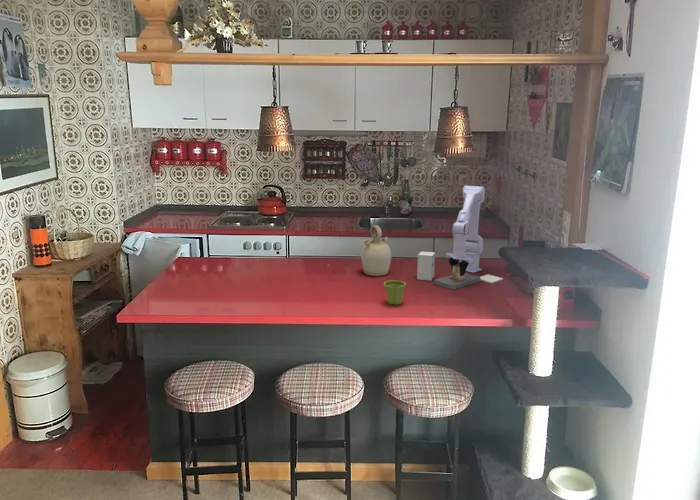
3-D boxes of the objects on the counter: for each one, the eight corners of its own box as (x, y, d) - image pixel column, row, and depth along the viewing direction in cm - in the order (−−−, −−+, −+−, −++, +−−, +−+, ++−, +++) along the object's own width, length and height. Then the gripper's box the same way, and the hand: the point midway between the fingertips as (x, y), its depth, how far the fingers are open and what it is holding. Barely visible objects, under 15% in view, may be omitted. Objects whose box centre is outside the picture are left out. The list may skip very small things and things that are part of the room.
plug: (452, 279, 283) (452, 265, 281) (457, 278, 285) (458, 264, 283) (458, 281, 280) (459, 267, 278) (464, 280, 282) (464, 265, 280)
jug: (365, 278, 291) (365, 228, 285) (357, 269, 306) (357, 222, 299) (395, 275, 294) (395, 227, 288) (386, 267, 309) (386, 220, 303)
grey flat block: (433, 283, 281) (434, 279, 281) (460, 275, 294) (461, 271, 293) (453, 290, 272) (453, 285, 272) (480, 281, 285) (480, 277, 284)
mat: (476, 279, 288) (476, 277, 288) (487, 275, 294) (488, 274, 294) (491, 283, 282) (491, 282, 282) (503, 279, 287) (503, 278, 287)
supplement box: (431, 281, 286) (432, 255, 283) (416, 279, 288) (417, 254, 285) (434, 276, 293) (435, 252, 289) (419, 275, 295) (420, 251, 292)
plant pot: (379, 301, 258) (379, 282, 256) (397, 297, 263) (397, 279, 260) (391, 307, 250) (391, 288, 248) (409, 303, 255) (409, 284, 253)
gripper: (442, 245, 281) (441, 272, 285) (466, 251, 270) (465, 279, 274) (452, 243, 285) (450, 270, 289) (476, 248, 275) (474, 276, 278)
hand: (458, 274), depth 282 cm, fingers closed on plug, 4 cm apart
